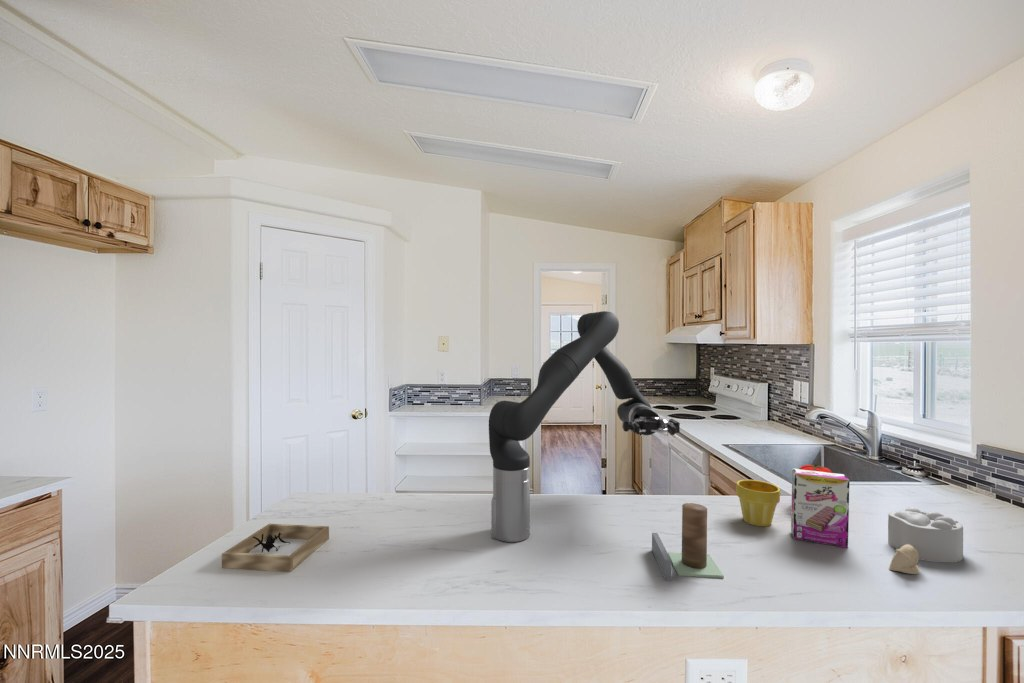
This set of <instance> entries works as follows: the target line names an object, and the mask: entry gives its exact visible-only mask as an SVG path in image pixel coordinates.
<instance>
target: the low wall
mask: <svg viewBox="0 0 1024 683" xmlns="http://www.w3.org/2000/svg"><path fill="white" fill-rule="evenodd" d="M659 535H660V534H659V533H658V532H651V550H652V553H653V555H655V556H654V558H655V561H656V562H657V564H658V566H659V569H660V571H661V574H662V576H663V577H664V578H663V579H664V580H665V581H672V562H671V559H670V557H669V555H668V551H667V550H666V547H665V546H664V543H663V542H662V539H661V537H660V536H659Z"/></svg>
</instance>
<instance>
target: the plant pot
mask: <svg viewBox="0 0 1024 683" xmlns="http://www.w3.org/2000/svg"><path fill="white" fill-rule="evenodd" d="M735 486H736V489H735V490H736V491H735V492H736V493H735V494H736V496H737V497H738V498H739V504H740V508H741V513H742V518H743V522H744V521H745V523H747V524H750V525H753V526H757V527H770V526H771V525H772V522H773V520H774V515H775V511H776V507H777V504H779V503H780V499H781V489H780V487H779V486H777V485H776V484H773V483H771V482H767V481H764V480H759V479H758V480H757V479H740V480H738V481H736V485H735Z"/></svg>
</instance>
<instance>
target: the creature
mask: <svg viewBox="0 0 1024 683" xmlns="http://www.w3.org/2000/svg"><path fill="white" fill-rule="evenodd" d="M272 529H273V527H272ZM280 533H281V532H279V534H278V536H277V537H276V535H274V537H272V535H268V537H267V540H265V543H264V542H263V534H262V540H261V541H260V540H259V539H258V538H256V537H252V538H255V539H256V540H258V542H259V543H258V544H257V545H255V546H257V547H259V546H260V545H261V547H260V548H262V549H261V554H264V553H263V552H264V549H265V550H266V551H267V553H269V552H270V550H272V549H273V548H275V551H276V552H277V551H279V549H280V547H282V546H284V545H283V544H288V545H290V544H291V542H290V541H286V540H283V539H282V538H280V535H282V534H280ZM271 534H272V532H271ZM277 540H279V542H281V543H283V544H282V545H279V546H275V542H276V541H277ZM262 542H263V543H262ZM255 546H254V547H255ZM255 548H256V547H255Z"/></svg>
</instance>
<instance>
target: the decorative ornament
mask: <svg viewBox="0 0 1024 683" xmlns="http://www.w3.org/2000/svg"><path fill="white" fill-rule="evenodd" d="M919 561H920V559H919V555H918V552H917V550H916V549H915V548H914V547H913V546H911V545H908V544H906V545H904V546H902V547H901V548H900V549H897V548H895V554H894V555H893V557H892V559H891V562H890V565H889V567H888V570H889V571H895V572H901V573H904V574H908V575H910V574H911V575H918V574H919V572H920V569H919V566H918V565H917V564H918V563H919Z"/></svg>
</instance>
